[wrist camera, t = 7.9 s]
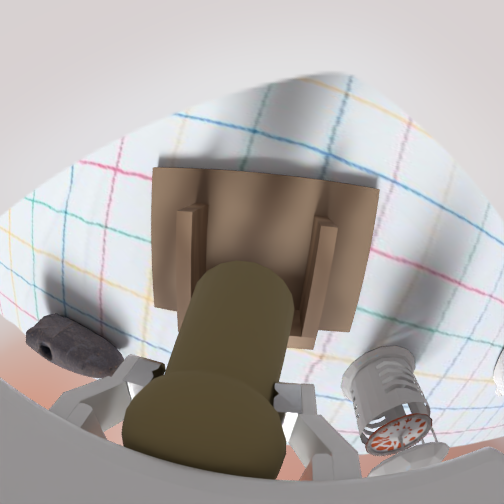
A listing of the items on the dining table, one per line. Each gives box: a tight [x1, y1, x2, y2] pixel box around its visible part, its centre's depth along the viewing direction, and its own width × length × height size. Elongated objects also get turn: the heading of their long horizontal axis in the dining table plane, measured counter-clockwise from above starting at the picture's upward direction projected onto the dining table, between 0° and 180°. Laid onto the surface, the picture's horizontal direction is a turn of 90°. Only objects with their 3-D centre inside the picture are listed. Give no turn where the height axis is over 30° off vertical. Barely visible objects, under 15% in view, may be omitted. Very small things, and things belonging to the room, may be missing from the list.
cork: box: [122, 260, 295, 480], centre depth 11 cm, size 6×6×11 cm
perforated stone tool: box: [26, 314, 124, 378], centre depth 28 cm, size 15×5×7 cm, turn 75°
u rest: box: [151, 167, 380, 350], centre depth 23 cm, size 20×14×6 cm
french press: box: [341, 346, 449, 477], centre depth 16 cm, size 10×12×25 cm
